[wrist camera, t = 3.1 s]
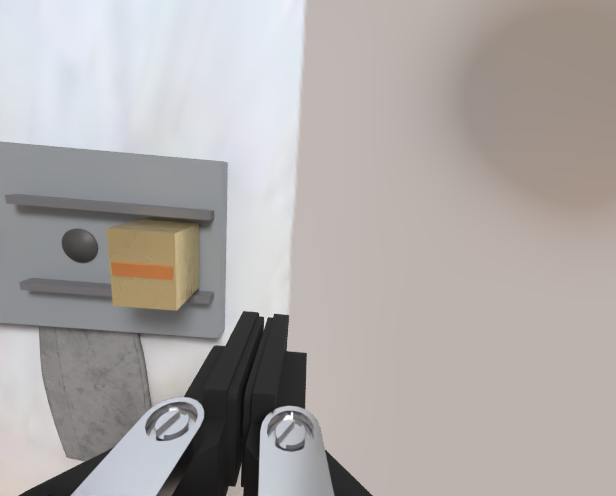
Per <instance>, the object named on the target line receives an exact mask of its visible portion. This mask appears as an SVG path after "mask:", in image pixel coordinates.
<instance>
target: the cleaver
mask: <svg viewBox="0 0 616 496" xmlns="http://www.w3.org/2000/svg"><path fill="white" fill-rule="evenodd" d="M39 339H40V357H41V369H42V376H43V381H44V385H45V390H46V394H47V398H48V402H49V406H50V409H51V413H52V416H53V419H54V423H55V426H56V429H57V432H58V435H59V438H60V440H61V443H62V446H63V449H64V451H65V454H66V457H68V458H72V459H77V460H81V461H87V460H89V459H91V458H93V457H95V456H97V455H99V454H101V453H103V452H105V451H107V450H109V449H111V448H113V447H115V446H116V445H117V444H118V443H119V442H120V441H121V439H122V438H123V437H124V436H125V435H126V434H127V433H128V432H129V431H130V430H131V428H132V427H133V426H134V425H135V424H136V423H137V422H138V421H139V420H140V419H141V417H142V416H143V415H144V414H145V413H146V412H147V411H148V410H150V409H151V402H150V394H149V387H148V379H147V372H146V365H145V359H144V354H143V348H142V344H141V340H140V336H139V333H135V332H121V331H107V330H93V329H80V328H66V327H52V326H39Z"/></svg>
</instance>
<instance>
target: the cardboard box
mask: <svg viewBox="0 0 616 496" xmlns="http://www.w3.org/2000/svg"><path fill="white" fill-rule="evenodd" d="M106 229H107V241H108V253H109V265H110V278H111V290H112V302H113V306H121V307H134V308H148V309H161V310H175V311H177V310H178V309H179V308H180V307H181V306H182V305H183V304H184V303H185V302H186V301H187V300H188V299H189V298H190V297H191V295H192V294H193V293H194V292H195V291H196V290H197V289H198V288H199V287H200V284H199V223H189V222H177V221H165V220H153V219H141V220H137V221H133V222H129V223H125V224H121V225H117V226H113V227H109V228H106Z"/></svg>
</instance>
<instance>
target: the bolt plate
mask: <svg viewBox="0 0 616 496" xmlns="http://www.w3.org/2000/svg"><path fill="white" fill-rule="evenodd" d="M141 219H153V220H165V221H177V222H189V223H199V284H200V287H199V288H198V289H197V290H196V291H195V292H194V293H193V294H192V295H191V297H190V298H189V299H188V300H187V301H186V302H185V303H184V304H183V305H182V306H181V307H180V308H179V309H178V310H177V311H175V310H161V309H148V308H134V307H121V306H113V302H112V290H111V278H110V265H109V253H108V241H107V229H106V228H109V227H113V226H117V225H121V224H125V223H129V222H133V221H137V220H141ZM226 219H227V162H222V161H211V160H200V159H189V158H177V157H166V156H155V155H144V154H133V153H121V152H110V151H99V150H88V149H76V148H65V147H54V146H43V145H31V144H20V143H9V142H0V323H10V324H24V325H38V326H52V327H66V328H80V329H93V330H107V331H121V332H135V333H149V334H163V335H177V336H191V337H205V338H219V339H220V337H221V335H222V333H223V331H224V329H225V275H226Z"/></svg>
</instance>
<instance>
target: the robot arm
mask: <svg viewBox="0 0 616 496" xmlns="http://www.w3.org/2000/svg"><path fill="white" fill-rule="evenodd" d="M288 324H289V315H282V314H274V317H273V318H270V317H268V319H267V322H266V325H265V329H264V317H259V313H258V312H246V311H243V313H242V315H241V317H240V319H239V321H238V323H237V325H236V327H235V328H234V330H233V332H232V334H231V336H230V338H229V340H228V342H227V344H226V346H214V347H213V348H212V350H211V351H210V353H209V355H208V356H207V358H206V360H205V362H204V363H203V365H202V367H201V368H200V370H199V372H198V374H197V375H196V377H195V379H194V380H193V382H192V384H191V386H190V387H189V389H188V391H187V392H186V394H185V396H184V397H177V398H171V399H168V400H165V401H162V402H160V403H159V404H157V405H155V406H153V407H152V408H151V409H150V410H148V411H147V412H146V413H145V414H144V415H143V416H142V417H141V419H140V420H139V421H138V422H137V423H136V424H135V425H134V426H133V427H132V428H131V430H130V431H129V432H128V433H127V434H126V435H125V436H124V437H123V438H122V439H121V441H120V442H119V443H118V444H117V445H116V446H115V447H113V448H111V449H109V450H107V451H105V452H103V453H101V454H99V455H97V456H95V457H93V458H91V459H89V460H87V461H85V462H83V463H81V464H79V465H77V466H75V467H74V468H72V469H70V470H68V471H66V472H64V473H62V474H60V475H58V476H56V477H54V478H52V479H50V480H48V481H46V482H44V483H42V484H40V485H38V486H36V487H34V488H32V489H30V490H28V491H26V492H24V493H22V494H21V495H19V496H226V494H227V490H228V486H235V485H236V482H237V479H238V475H239V471H240V467H241V463H242V470H241V487H244V494H243V496H372V495H371V494H370V493H369V492H368V491H367V490H366V489H365V488H364V487H363V486H362V485H361V484H360V483H359V482H358V481H357V480H356V479H355V478H354V477H353V476H352V475H351V474H350V473H349V472H348V471H347V470H345V468H343V467H342V466H341V465H340V464H339V463H338V462H337V461H336V460H335V459H334V458H333V457H332V456H331V455H330V454H329V453H328V452H327V451H326V450H325V448H324V443H323V439H322V433H321V429H320V426H319V423H318V421H317V419H316V418H315V417H314V416H313V415H312V414H311V413H310V412H308V411H307V410H305V389H306V387H305V386H306V357H307V353H300V352H288V351H286V350H287V337H288ZM263 330H264V332H263Z"/></svg>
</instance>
